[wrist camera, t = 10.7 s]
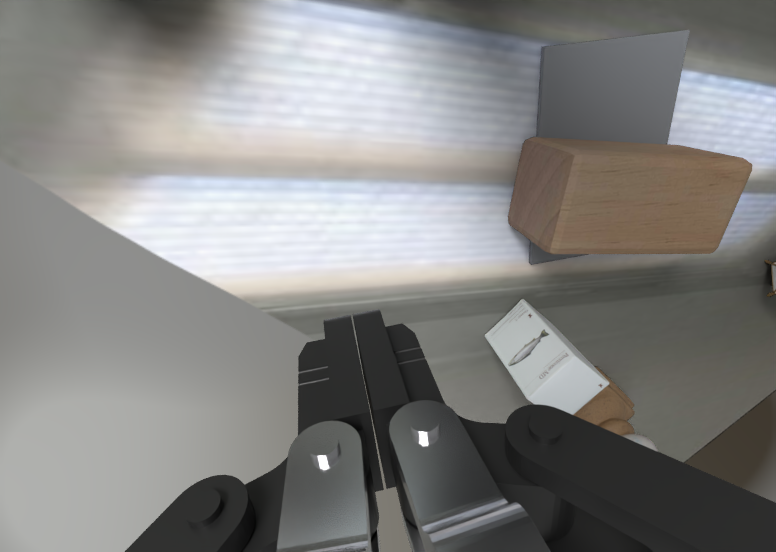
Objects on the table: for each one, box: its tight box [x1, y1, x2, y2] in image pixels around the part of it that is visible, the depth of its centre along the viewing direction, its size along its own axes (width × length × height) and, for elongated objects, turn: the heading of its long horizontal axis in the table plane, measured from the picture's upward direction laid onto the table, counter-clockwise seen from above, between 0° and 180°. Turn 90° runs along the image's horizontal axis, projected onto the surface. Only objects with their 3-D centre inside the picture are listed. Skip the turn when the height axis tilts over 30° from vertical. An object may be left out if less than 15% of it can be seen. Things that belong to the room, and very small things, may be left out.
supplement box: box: [485, 299, 609, 415], centre depth 52 cm, size 7×7×13 cm
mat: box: [529, 30, 690, 265], centre depth 48 cm, size 24×16×1 cm, turn 6°
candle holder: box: [574, 366, 659, 452], centre depth 56 cm, size 11×11×24 cm
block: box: [508, 137, 752, 254], centre depth 45 cm, size 10×10×20 cm
